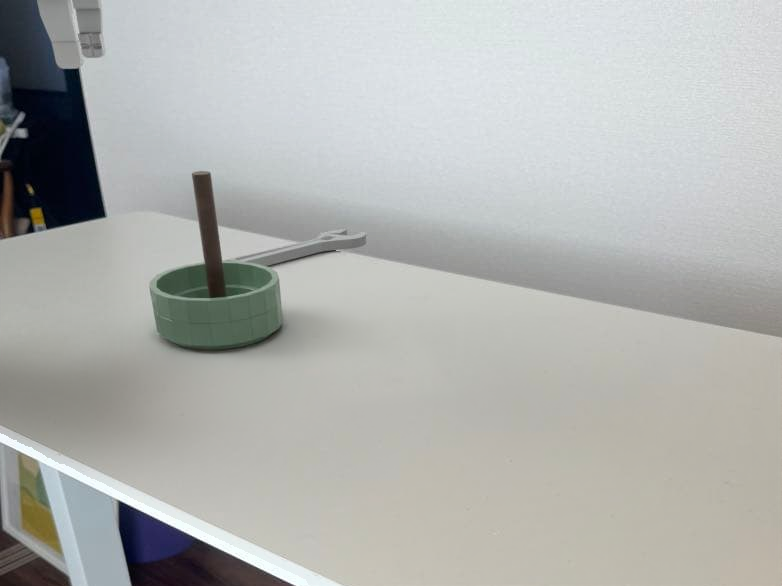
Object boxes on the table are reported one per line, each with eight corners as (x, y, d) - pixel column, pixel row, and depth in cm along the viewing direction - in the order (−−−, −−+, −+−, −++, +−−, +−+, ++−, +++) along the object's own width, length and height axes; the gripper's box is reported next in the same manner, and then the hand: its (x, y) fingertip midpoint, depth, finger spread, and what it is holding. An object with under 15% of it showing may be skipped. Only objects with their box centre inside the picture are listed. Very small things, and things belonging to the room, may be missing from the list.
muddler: (203, 331, 95) (180, 178, 85) (202, 318, 98) (180, 170, 89) (241, 328, 96) (222, 175, 86) (239, 315, 99) (221, 168, 90)
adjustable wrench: (226, 277, 115) (225, 264, 114) (206, 266, 119) (204, 254, 118) (371, 245, 127) (371, 233, 126) (348, 237, 131) (348, 225, 130)
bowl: (157, 358, 90) (147, 305, 87) (159, 314, 102) (150, 265, 99) (289, 346, 93) (284, 294, 90) (276, 304, 105) (272, 257, 101)
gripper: (30, -144, 67) (70, 52, 75) (-53, -182, 50) (10, 75, 58) (110, -143, 68) (141, 51, 76) (53, -180, 51) (101, 74, 59)
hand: (83, 62), depth 67 cm, fingers open, 8 cm apart
